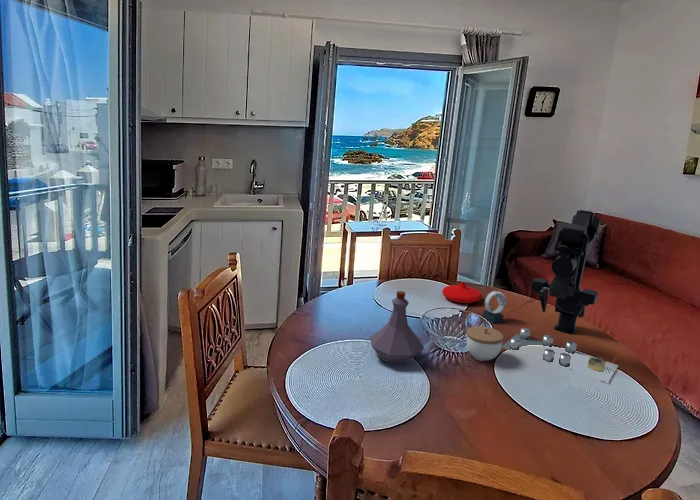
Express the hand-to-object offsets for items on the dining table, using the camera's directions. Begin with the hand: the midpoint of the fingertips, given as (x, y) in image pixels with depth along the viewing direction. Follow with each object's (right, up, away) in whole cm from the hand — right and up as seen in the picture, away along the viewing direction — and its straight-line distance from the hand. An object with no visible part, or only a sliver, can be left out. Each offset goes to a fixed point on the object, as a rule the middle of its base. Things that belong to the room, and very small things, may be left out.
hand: (558, 316), depth 152 cm
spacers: (-5, -11, +1) cm, 12 cm away
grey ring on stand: (-14, -5, +24) cm, 28 cm away
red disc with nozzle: (-21, 0, +44) cm, 48 cm away
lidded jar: (-25, -12, -4) cm, 28 cm away
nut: (+7, -14, -8) cm, 18 cm away
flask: (-52, -11, -7) cm, 53 cm away
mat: (-1, -12, -2) cm, 12 cm away
